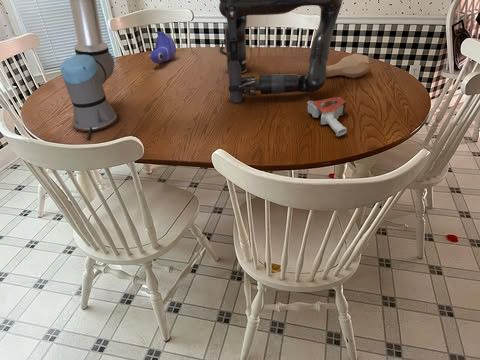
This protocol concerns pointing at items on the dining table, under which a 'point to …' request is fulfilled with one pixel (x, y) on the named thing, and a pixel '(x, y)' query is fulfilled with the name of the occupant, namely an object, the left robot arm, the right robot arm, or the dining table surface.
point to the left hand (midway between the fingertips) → (233, 57)
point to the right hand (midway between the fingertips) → (229, 86)
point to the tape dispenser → (329, 113)
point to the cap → (230, 56)
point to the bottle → (235, 80)
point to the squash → (350, 66)
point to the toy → (163, 48)
